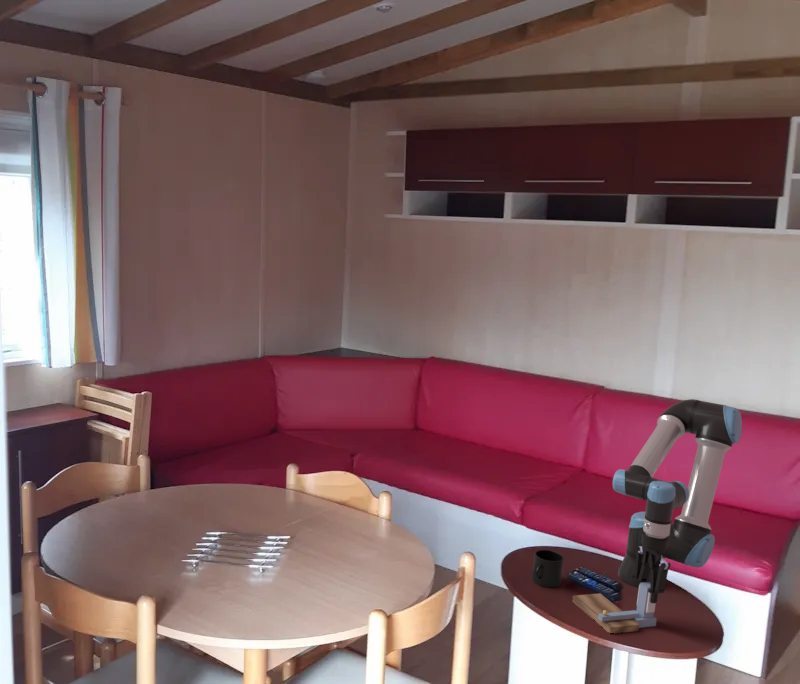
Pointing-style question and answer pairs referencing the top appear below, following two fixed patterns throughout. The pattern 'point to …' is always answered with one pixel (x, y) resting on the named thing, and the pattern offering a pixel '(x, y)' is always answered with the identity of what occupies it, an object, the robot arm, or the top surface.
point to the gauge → (637, 615)
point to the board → (596, 605)
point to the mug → (547, 568)
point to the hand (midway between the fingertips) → (645, 608)
